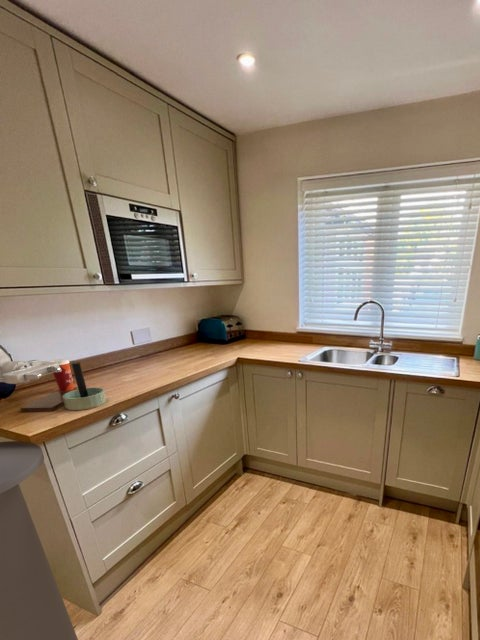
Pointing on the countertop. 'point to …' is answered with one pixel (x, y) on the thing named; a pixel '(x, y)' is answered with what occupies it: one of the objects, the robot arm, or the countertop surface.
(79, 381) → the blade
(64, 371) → the paper cup
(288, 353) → the countertop surface
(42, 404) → the cutting board
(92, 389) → the green bowl
